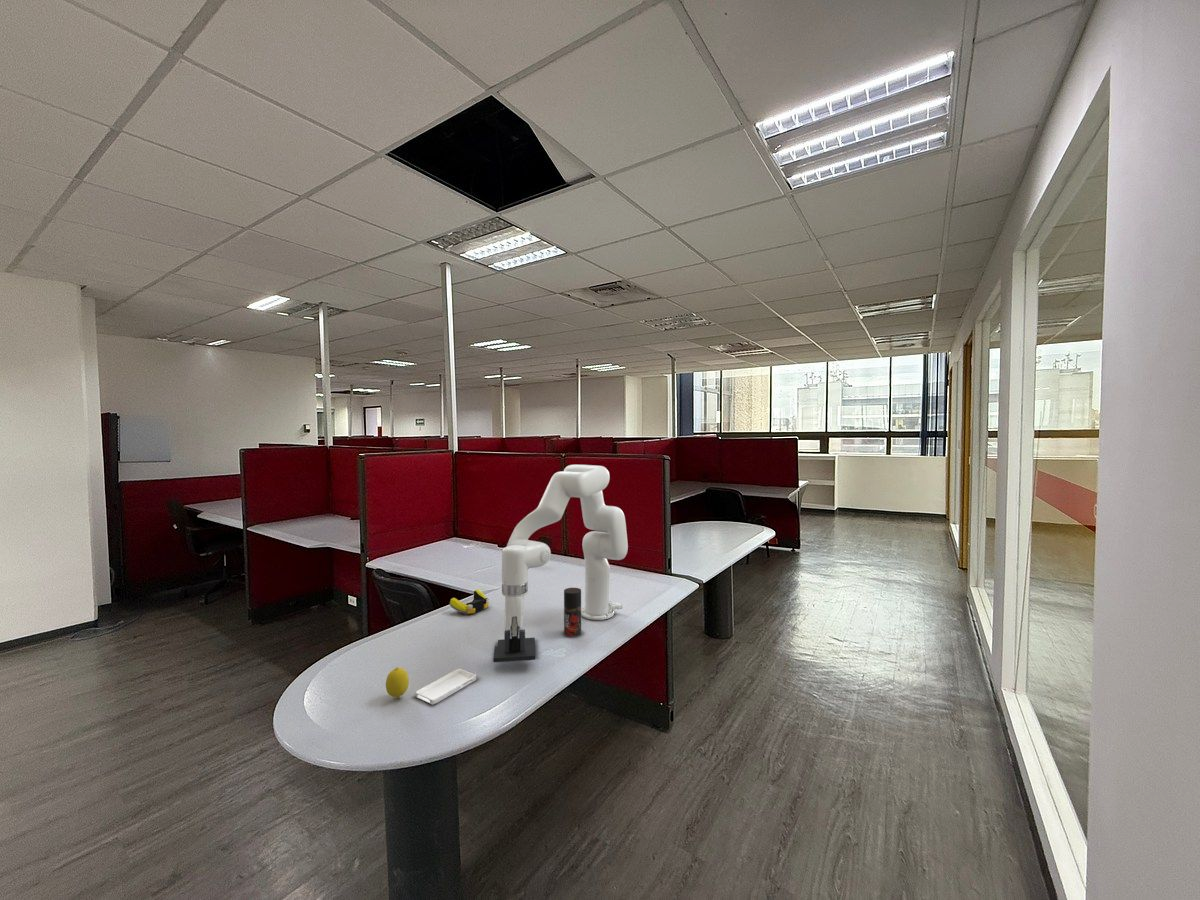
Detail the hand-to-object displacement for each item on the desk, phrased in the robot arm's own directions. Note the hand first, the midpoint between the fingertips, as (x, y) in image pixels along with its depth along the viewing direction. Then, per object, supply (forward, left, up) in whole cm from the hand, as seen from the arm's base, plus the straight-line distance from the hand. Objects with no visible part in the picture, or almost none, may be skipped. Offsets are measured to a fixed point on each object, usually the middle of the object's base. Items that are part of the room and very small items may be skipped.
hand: (515, 649), depth 142 cm
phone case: (+18, +10, -5) cm, 21 cm away
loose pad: (0, -1, -2) cm, 2 cm away
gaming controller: (+18, -48, -5) cm, 52 cm away
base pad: (0, -10, -5) cm, 11 cm away
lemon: (+30, +13, -5) cm, 33 cm away
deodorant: (-19, -20, -5) cm, 28 cm away
